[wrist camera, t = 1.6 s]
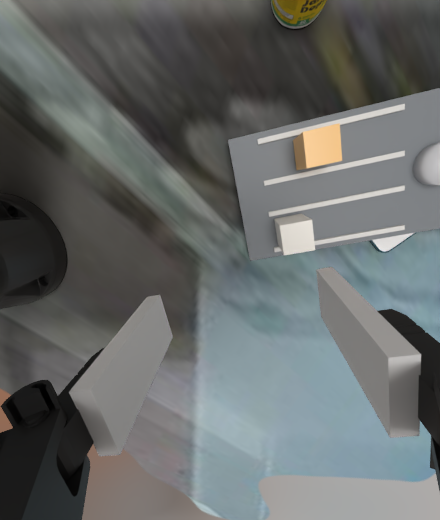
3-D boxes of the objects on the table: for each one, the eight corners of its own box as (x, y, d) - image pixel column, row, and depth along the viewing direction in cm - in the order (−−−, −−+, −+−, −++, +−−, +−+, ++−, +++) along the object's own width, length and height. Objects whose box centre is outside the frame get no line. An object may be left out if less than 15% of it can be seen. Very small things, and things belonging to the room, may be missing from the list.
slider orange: (296, 170, 26) (306, 168, 22) (293, 139, 26) (302, 131, 21) (325, 164, 26) (342, 160, 22) (323, 132, 25) (339, 123, 21)
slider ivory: (278, 244, 29) (283, 255, 25) (274, 218, 28) (279, 225, 24) (304, 239, 29) (315, 249, 24) (301, 213, 28) (312, 219, 23)
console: (249, 255, 32) (250, 266, 28) (229, 143, 29) (226, 136, 24) (445, 220, 29) (479, 227, 25) (452, 88, 25) (493, 70, 21)
